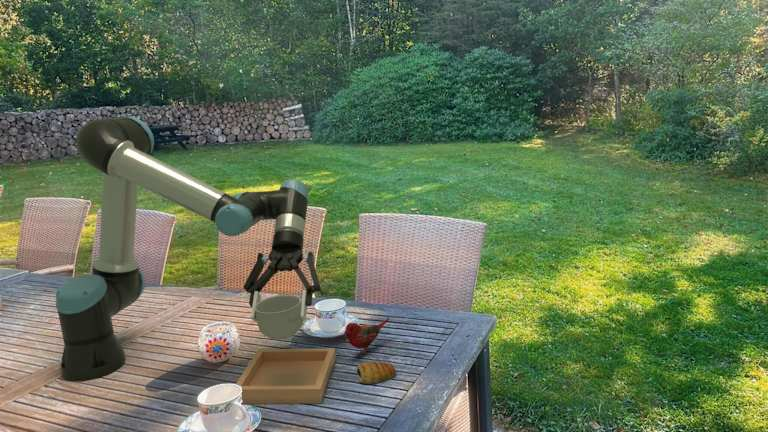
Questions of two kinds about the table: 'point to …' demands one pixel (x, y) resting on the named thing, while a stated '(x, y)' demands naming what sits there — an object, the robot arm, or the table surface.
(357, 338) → the decorative bird figurine
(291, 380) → the shallow wooden tray
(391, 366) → the pastry
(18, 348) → the table surface
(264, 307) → the teacup
